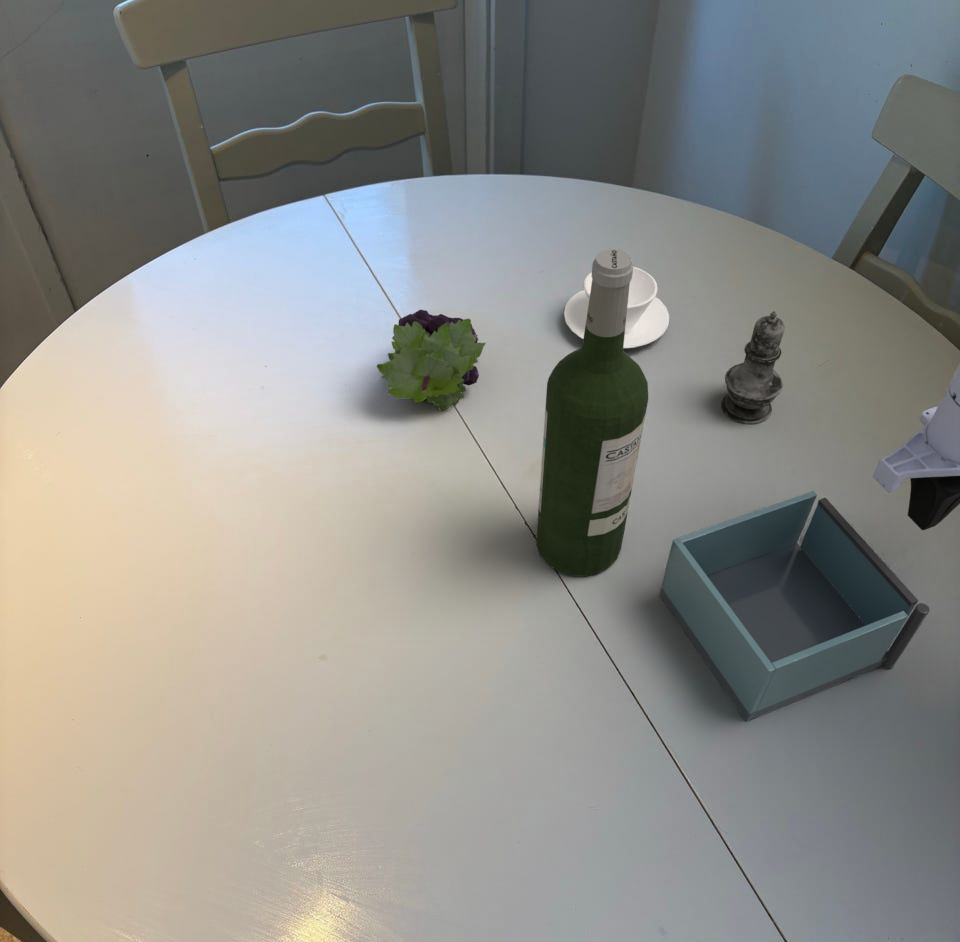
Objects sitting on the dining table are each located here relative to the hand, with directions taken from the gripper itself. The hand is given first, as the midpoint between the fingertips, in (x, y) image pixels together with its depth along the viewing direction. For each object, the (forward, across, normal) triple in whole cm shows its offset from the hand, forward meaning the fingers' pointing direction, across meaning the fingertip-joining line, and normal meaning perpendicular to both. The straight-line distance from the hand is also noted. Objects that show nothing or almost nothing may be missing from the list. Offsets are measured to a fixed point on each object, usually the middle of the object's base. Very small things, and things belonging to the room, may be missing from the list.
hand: (921, 520), depth 78 cm
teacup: (+7, +6, -42) cm, 43 cm away
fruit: (+7, +29, -40) cm, 50 cm away
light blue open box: (+7, +14, +1) cm, 15 cm away
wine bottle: (+7, +25, -14) cm, 29 cm away
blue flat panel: (+6, +6, +1) cm, 8 cm away
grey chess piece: (+7, 0, -24) cm, 25 cm away
